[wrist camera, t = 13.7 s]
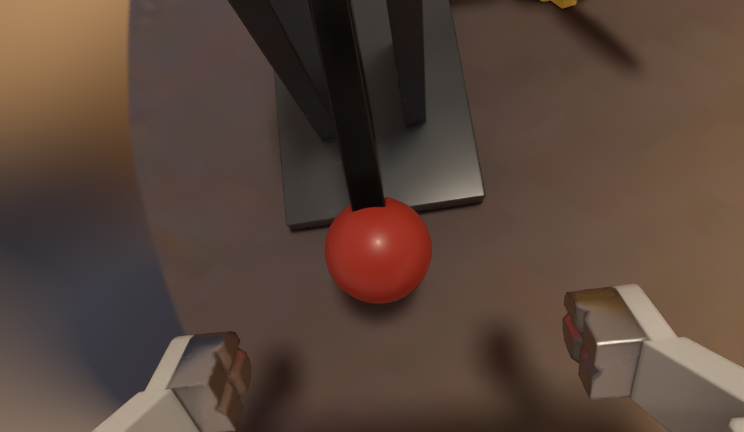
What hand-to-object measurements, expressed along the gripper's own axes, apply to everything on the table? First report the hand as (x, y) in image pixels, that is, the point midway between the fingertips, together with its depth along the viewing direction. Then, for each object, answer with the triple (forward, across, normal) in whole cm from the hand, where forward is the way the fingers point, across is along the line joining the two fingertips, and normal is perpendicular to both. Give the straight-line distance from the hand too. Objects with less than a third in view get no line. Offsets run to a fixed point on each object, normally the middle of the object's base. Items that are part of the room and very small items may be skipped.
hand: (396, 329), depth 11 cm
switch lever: (+7, +1, -4) cm, 8 cm away
